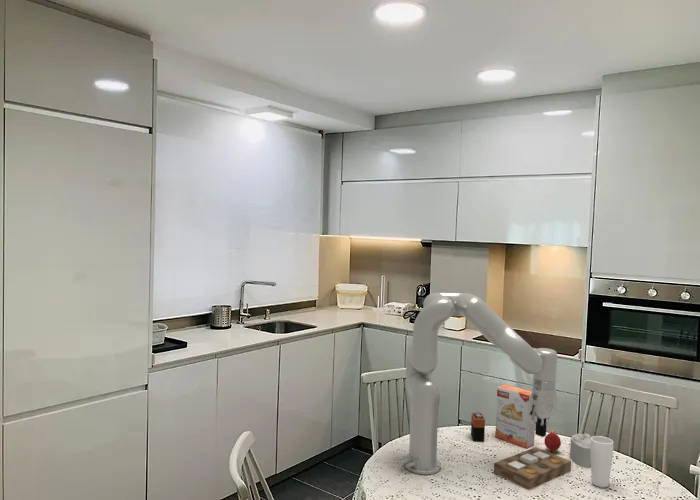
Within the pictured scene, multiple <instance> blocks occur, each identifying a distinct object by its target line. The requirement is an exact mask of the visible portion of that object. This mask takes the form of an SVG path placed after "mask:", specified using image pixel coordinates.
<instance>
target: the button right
mask: <svg viewBox="0 0 700 500" xmlns="http://www.w3.org/2000/svg"><path fill="white" fill-rule="evenodd" d="M532 455H533V456H535V457H538V458H540V459H542V460H544V459H547V458H549V457H550V455H547V454H545V453H543V452H540V451H539V452H536V453H534V454H532Z"/></svg>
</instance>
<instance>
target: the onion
mask: <svg viewBox="0 0 700 500" xmlns="http://www.w3.org/2000/svg"><path fill="white" fill-rule="evenodd" d="M543 441H544V445H545V447H546V448H547V449H548V450H549V452H550V453H553V452H555V451H557V450H559V449H560V448H561V446H562V441H561V438H560V437H559V435H558V434H557V433H556V432H555V430H551V432H550V433H548V434H546V436H544V440H543Z"/></svg>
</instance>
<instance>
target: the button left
mask: <svg viewBox="0 0 700 500" xmlns="http://www.w3.org/2000/svg"><path fill="white" fill-rule="evenodd" d="M508 466H510V467H513V468H515V469H517V470H520V469H522V468H525V467H526V465H524V464H522V463H519V462H517V461H514V462H511V463H508Z"/></svg>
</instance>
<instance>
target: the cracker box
mask: <svg viewBox="0 0 700 500" xmlns="http://www.w3.org/2000/svg"><path fill="white" fill-rule="evenodd" d="M496 392H497V393H496V411H495V412H496V415H495V438H497V439H500V440H502V441H505V442H509V443H511V444H514V445H516V446H518V447H522V448H524V449H528V448H530V447H532V446H534V445H535V435H536V434H535V430H536V424H535V422H534V421H532V420H531V417H532V416H531V415H530V413H529V408H530V399H531V393H532V390H528V389H524V388H521V387H517V386H514V385H510V384H509V385H508V384H506V383H504V384H502V385H499V386H497V387H496Z"/></svg>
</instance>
